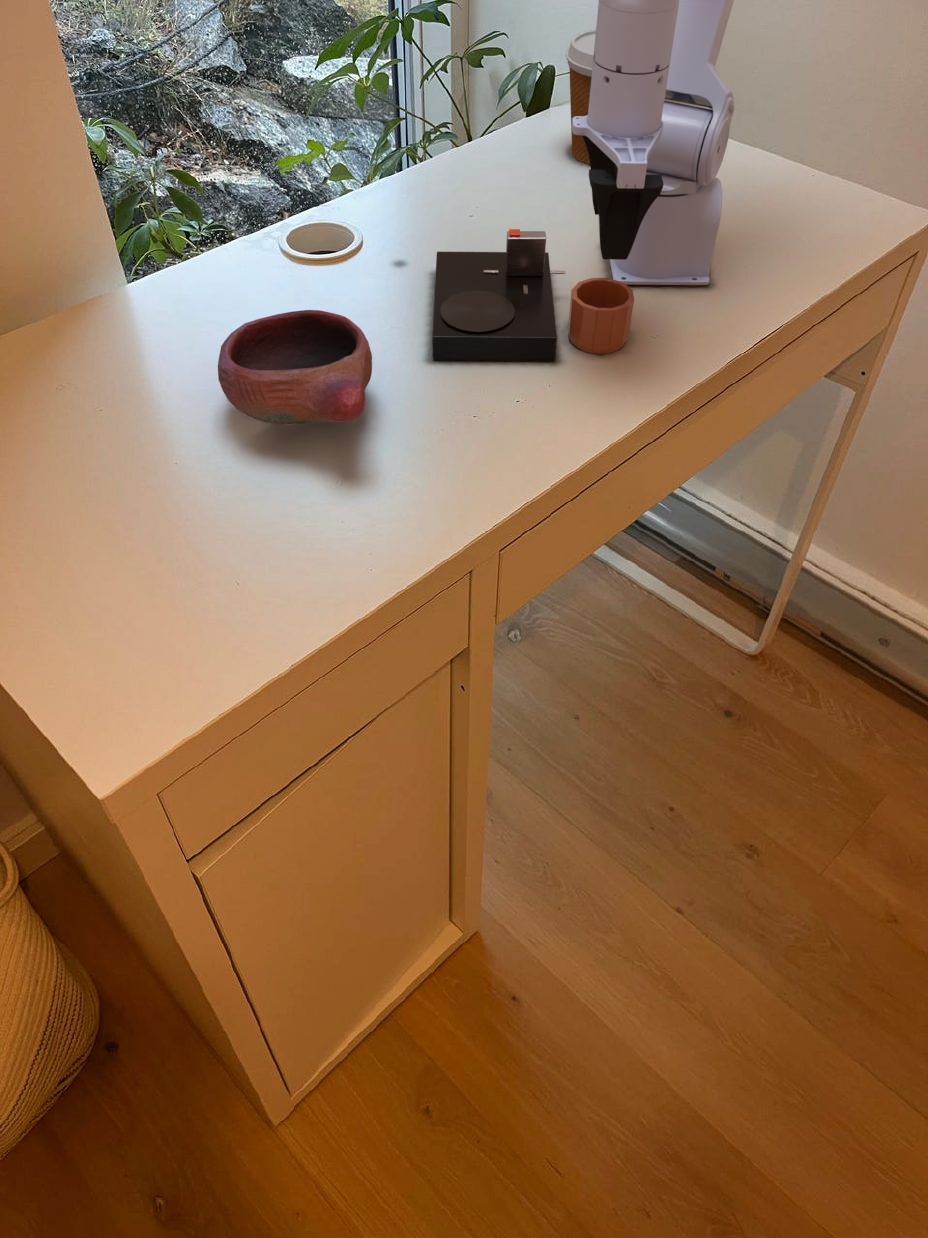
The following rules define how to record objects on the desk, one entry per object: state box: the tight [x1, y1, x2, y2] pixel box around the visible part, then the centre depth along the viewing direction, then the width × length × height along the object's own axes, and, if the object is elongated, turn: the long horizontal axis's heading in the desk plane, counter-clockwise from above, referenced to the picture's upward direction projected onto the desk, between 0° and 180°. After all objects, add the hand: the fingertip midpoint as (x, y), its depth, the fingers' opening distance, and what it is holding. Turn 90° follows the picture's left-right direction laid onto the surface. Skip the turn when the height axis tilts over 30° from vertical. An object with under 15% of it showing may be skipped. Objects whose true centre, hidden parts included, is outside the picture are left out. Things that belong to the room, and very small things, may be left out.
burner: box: [440, 291, 515, 333], centre depth 88 cm, size 7×7×1 cm
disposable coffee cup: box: [565, 29, 596, 165], centre depth 111 cm, size 10×10×12 cm
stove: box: [431, 251, 566, 363], centre depth 92 cm, size 12×15×3 cm
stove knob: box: [505, 228, 547, 276], centre depth 91 cm, size 4×1×4 cm, turn 90°
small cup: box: [567, 277, 635, 355], centre depth 89 cm, size 6×6×4 cm
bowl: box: [217, 309, 373, 425], centre depth 79 cm, size 16×13×8 cm
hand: (610, 234), depth 83 cm, fingers open, 7 cm apart
